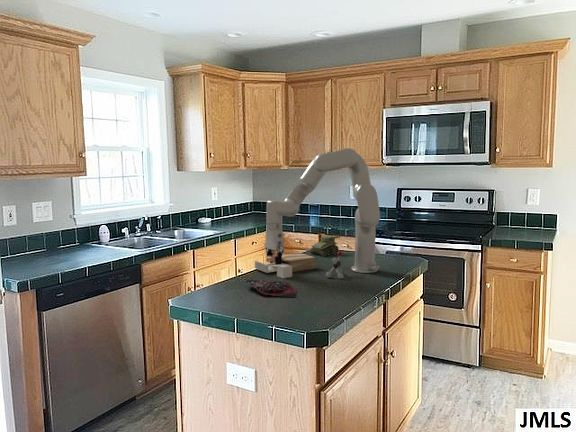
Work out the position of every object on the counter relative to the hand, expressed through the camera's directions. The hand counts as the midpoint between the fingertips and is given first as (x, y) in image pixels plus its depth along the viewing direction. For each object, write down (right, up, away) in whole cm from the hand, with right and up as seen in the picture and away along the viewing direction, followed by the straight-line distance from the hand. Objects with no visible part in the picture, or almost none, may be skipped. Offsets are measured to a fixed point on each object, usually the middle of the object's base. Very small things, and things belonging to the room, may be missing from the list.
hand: (273, 262), depth 232 cm
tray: (0, -3, 0) cm, 3 cm away
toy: (+29, +1, +42) cm, 51 cm away
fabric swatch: (0, -9, -34) cm, 35 cm away
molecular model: (+29, -6, -9) cm, 31 cm away
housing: (+10, -3, +7) cm, 13 cm away
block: (+5, -5, -10) cm, 13 cm away
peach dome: (0, +1, 0) cm, 1 cm away
